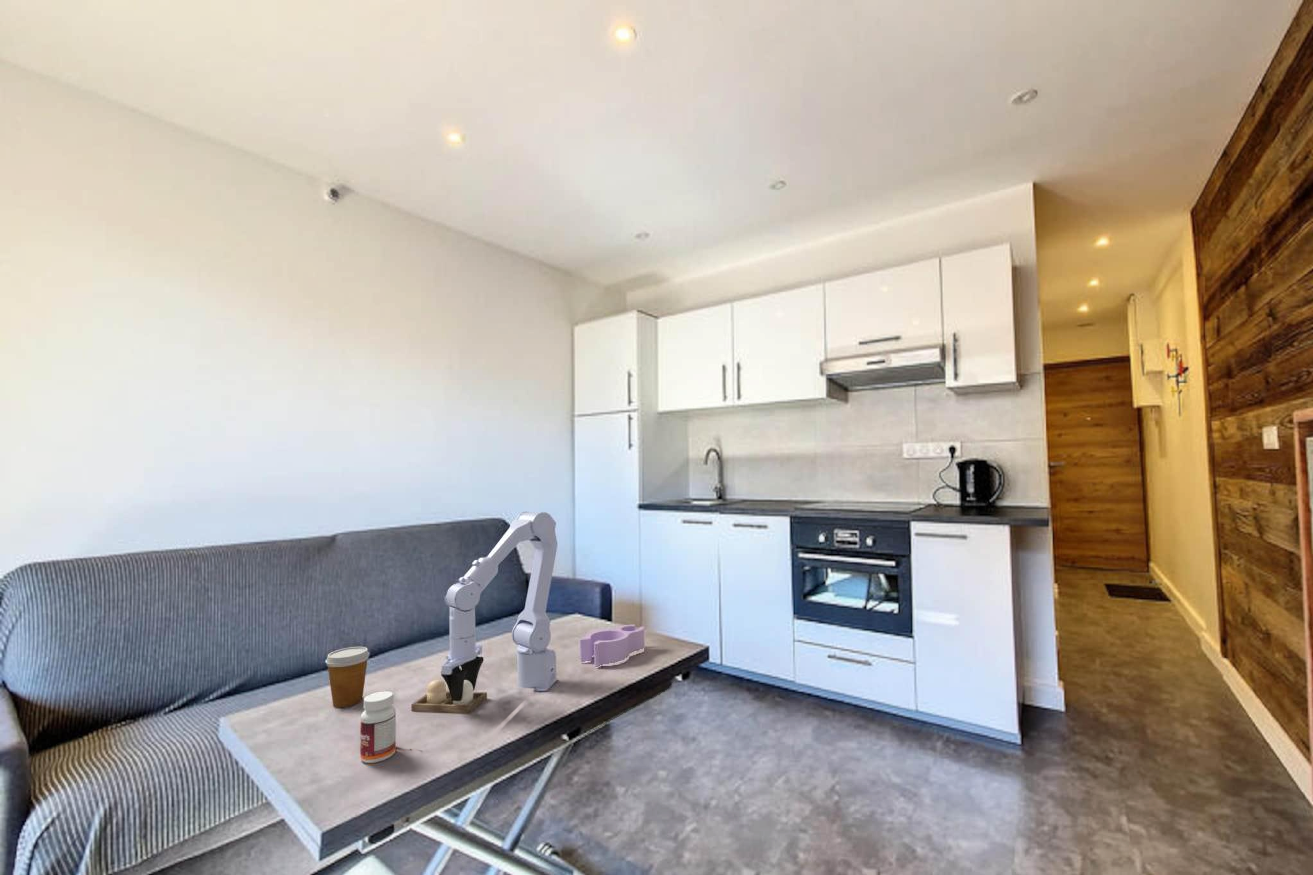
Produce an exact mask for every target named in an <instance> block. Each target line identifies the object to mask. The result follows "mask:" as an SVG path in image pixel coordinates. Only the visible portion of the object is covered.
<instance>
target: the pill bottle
mask: <svg viewBox="0 0 1313 875" xmlns="http://www.w3.org/2000/svg"><path fill="white" fill-rule="evenodd" d="M393 704H394V693H393V692H392V691H387V690H385V691H377V692H374V693H370V694H368V695H367V696H365V697H364V698H363V709H364V710H363V712H362V713H361V715H360V724H359V725H360V727H359V728H360V732H359V733H360V736H359V737H360V738H359V739H360V740H359V741H360V742H359V743H360V745H359V746H360V747H359V750H360V751H359V753H360V756H359V758H360V760H361V762H363V763H366V764H374V763H379V762H382V761H385V760H388V759H389V758H391V757H392V756H393V755H394V754H395V753H396V749H397V748H396V744H397V743H396V742H397V741H396V736H397V735H396V734H397V733H396V732H397V731H396V730H397V728H396V726H397V723H396V722H397V721H396V720H397V718H396V713H397V711H396V708H395V706H393Z"/></svg>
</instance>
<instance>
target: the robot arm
mask: <svg viewBox="0 0 1313 875" xmlns="http://www.w3.org/2000/svg"><path fill="white" fill-rule="evenodd" d="M556 522H557V521H555V519H554V518H553V516H551V515H550V514H549V513H547V512H544V511H542V512H535V511H533V512H532V511H523V512H521V513H519V514H518V515H517V517H516V518H515V519H514V520H513V521H511V523H510V526H509V528H508V529H507V530H506V532H505V533H504V534H503V536H502V537H501V538H500V540H499V541H498V542H497V544H496V545H495V546H494V547H493V548H492V549H491V551H490V552H489V554H488V555H487V556H485V557H479V558H478V559H475V560H474V561H473V562H472V563H471V564H472V566H471V568H469V570H468V571H467V572H466V573H465V574H464V576H462V577H459V579H458V582H456V583H454V584H453V585H451V586H450V587H449V588H448V590H447V592H446V596H444V602H445V604H446V606H448V607H449V609H448V610H449V616H448V617H449V619H448V620H449V653H448V654H446V655H445V659H446V661H445V663H443V664H442V665H441V671H440V676H441V677H442V678H443V681H445V682H444V683H445V684H446V685H447V686H446V687H447V688H448V691H449V692H450V695H451V699H452V701H461V700H462V695H463V684H464V680H468V681H470V682H471V684H472V686H473V692H475V691H474V690H475V689H476V684H477V680H478V676H479V672H480V670H481V669H480V668H481V667H482V665H483V663H484V659H485V658H484V657H483V656H478V655H482V653H483V645H481V644H479V645H478V644H476V606H477V605H478V604H479V602H480V599H481V598H480V597H481V594H482V593H483V591H484V590H485V589H486V587H487V586H488V585H489V584H490V582H491V581H492V580H493V579H494V578H495V577H496V575H497V574H498V573H499V565H500V564H501V562H503V561H504V559H505V558H506V557H507V556H508V555H509V554H510V553H511V552H512V551H513V550H514V549H515V547H516V546H518V544H520V543H522V542H525V541H529V542H530V543H531V544H532V546H533V547H534V549H535V552H534V556H533V557H534V558H533V563H532V568H531V572H530V578H529V583H528V588H527V594H526V599H525V604H524V605H525V606H524V609H523V610H522V611H521V612H520V613H519V614H518V616H517V619H516V620H517V621H516V623H515V624H514V626H513V628H512V630H511V640H512V642H513V643H514V644H516V659H517V660H516V662H517V663H516V664H517V665H516V666H517V670H516V671H517V685H518V686H519V687H521V688H524V689H529V688H533V692H535V691H537V692H539V691H540V692H546V691H548V690H549V689H550V688H552V686H553V685H554V683H556V682H557V681H558V680H559V678H558V677H557V655H556V652H555V650H554V649H549V648H547V647H548V646H549V644H550V641H551V637H552V634H551V630H550V627H551V626H550V625H551V620H550V618H549V616H548V614H547V612H546V611H547V604H548V601H549V594H550V589H551V583H552V577H553V572H554V567H555V563H556V562H555V561H556V556H557V551H558V539H557V535H556V525H557V523H556Z"/></svg>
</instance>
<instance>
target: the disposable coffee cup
mask: <svg viewBox="0 0 1313 875" xmlns="http://www.w3.org/2000/svg"><path fill="white" fill-rule="evenodd" d="M370 654H371V653H370V652H369V649H368V648H367V646H350V647H344V648H340V649H337V650H334V651H332V652H330V653H328V654H327V658H326V659H325V664H326V666H327V670H328V678H329V685H330V692H331V701H332V705H333V707H334V708H347V707H351V706H354V705H357V704H359V703H360V702H362V701H363V700H364V698H363V697H364V689H365V682H366V675H367V674H366V673H367V667H368V666H367V665H368V659H369V656H370Z"/></svg>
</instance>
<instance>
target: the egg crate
mask: <svg viewBox="0 0 1313 875" xmlns="http://www.w3.org/2000/svg"><path fill="white" fill-rule="evenodd" d="M486 700H488V692H483V691H482V692H481V691H480V692H479V691H473V702H472V703H471V704H469V705H453V701H452V699H451V695H450V692H449V690H446V701H444V702H443V703H442V704H427V693H426V694H425V695H423V696H421V697H420V698H419V699H417V700H415V701H414V702H413V703H412V704H410V705H411V712H424V713H425V712H426V713H447V714H449V713H450V714H469V715H470V714H471V713H472V712H474V711H475V710H476V709H477V708H478V707H479V706H481V704H483V703H484V702H485V701H486Z"/></svg>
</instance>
